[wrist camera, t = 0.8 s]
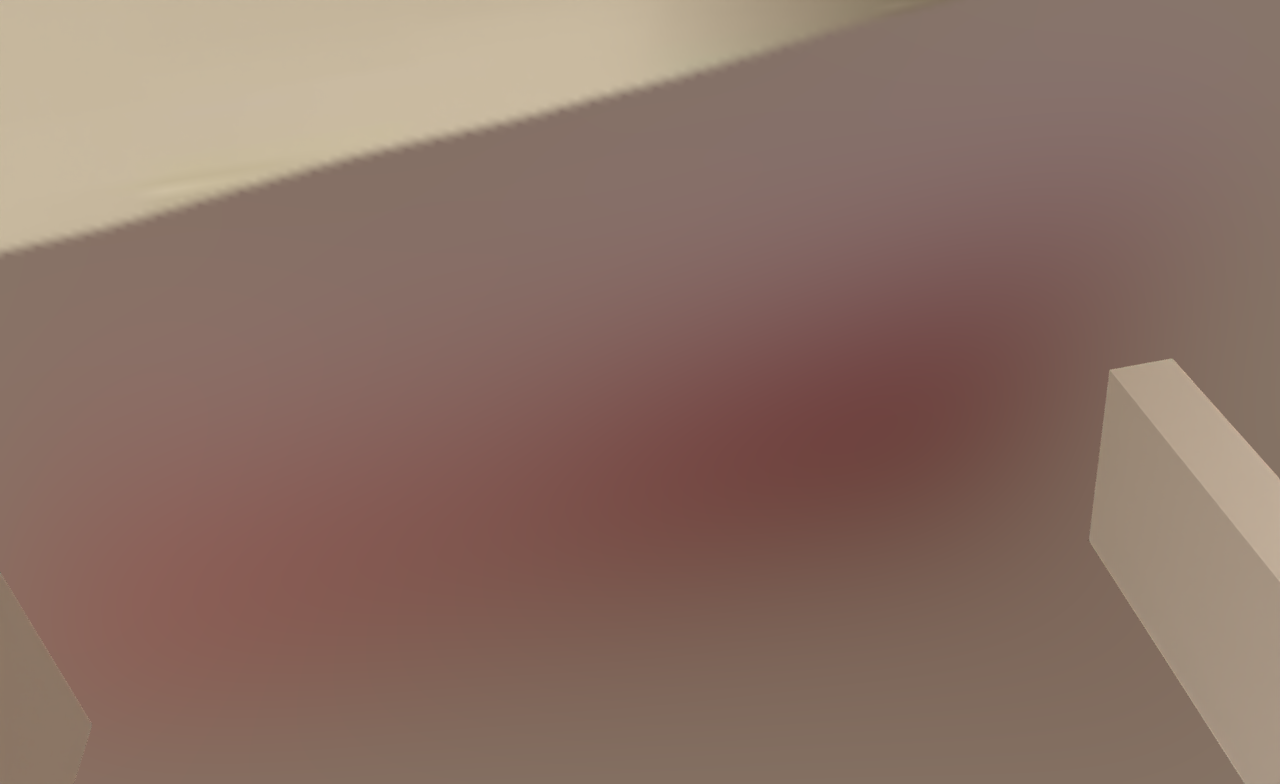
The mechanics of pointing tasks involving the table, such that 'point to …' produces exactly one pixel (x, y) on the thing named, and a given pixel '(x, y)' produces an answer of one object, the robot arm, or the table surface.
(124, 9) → the table surface
